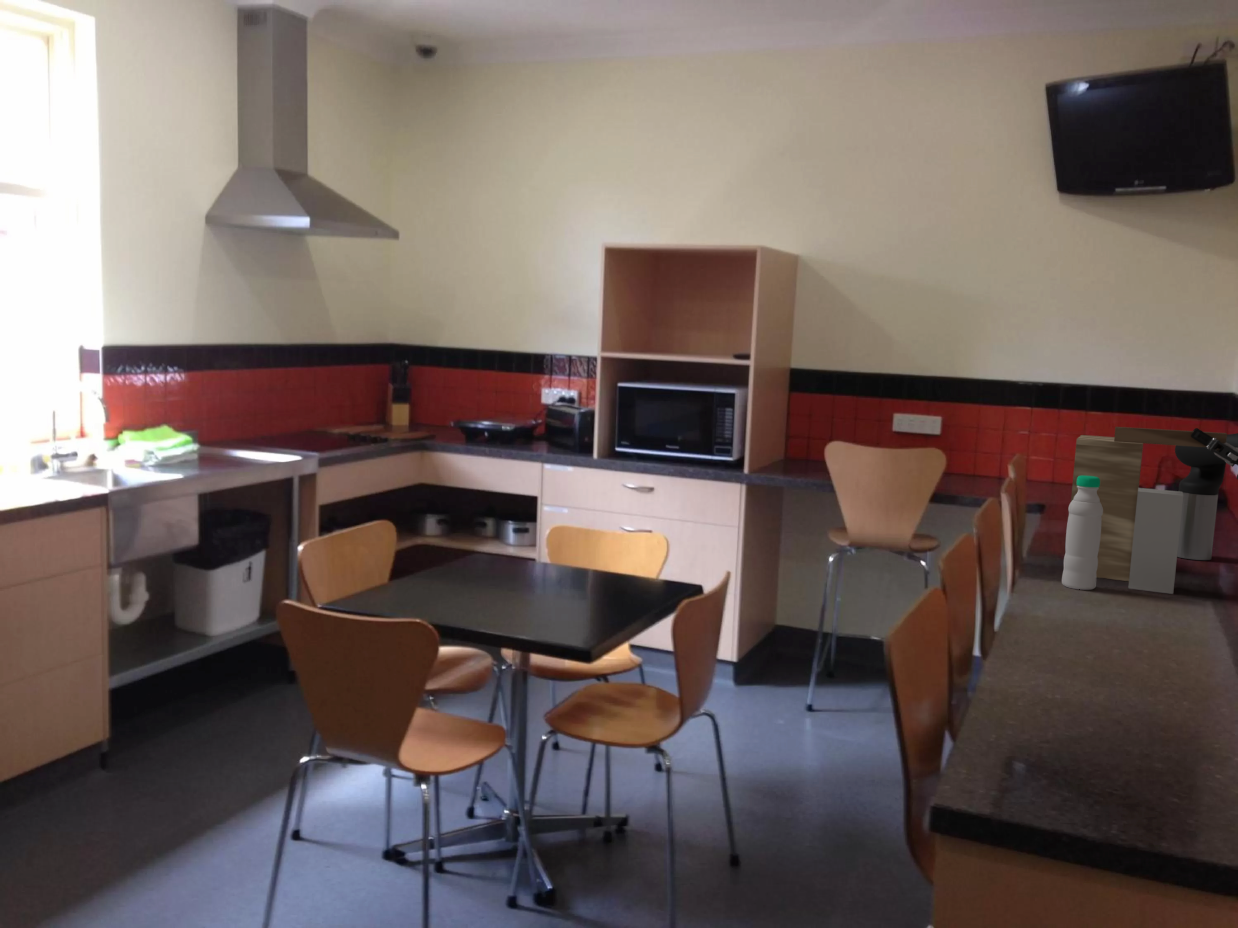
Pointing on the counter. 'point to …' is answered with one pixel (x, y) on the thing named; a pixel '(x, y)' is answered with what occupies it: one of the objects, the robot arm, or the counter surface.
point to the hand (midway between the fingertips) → (1193, 432)
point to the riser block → (1155, 540)
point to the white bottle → (1083, 536)
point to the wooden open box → (1112, 497)
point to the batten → (1162, 436)
